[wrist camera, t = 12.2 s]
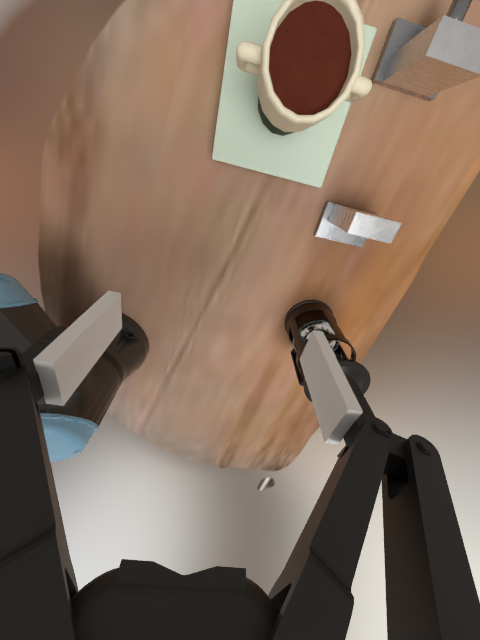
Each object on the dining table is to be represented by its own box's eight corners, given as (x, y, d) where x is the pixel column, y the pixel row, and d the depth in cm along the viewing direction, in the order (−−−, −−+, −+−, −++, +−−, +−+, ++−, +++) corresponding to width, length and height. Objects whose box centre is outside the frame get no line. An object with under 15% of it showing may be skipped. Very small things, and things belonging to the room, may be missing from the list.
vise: (313, 234, 39) (331, 250, 32) (399, 5, 26) (463, -61, 19) (359, 245, 40) (387, 263, 32) (463, 29, 27) (549, -25, 20)
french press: (302, 289, 44) (351, 384, 25) (344, 308, 46) (420, 409, 27) (271, 336, 50) (291, 444, 30) (310, 351, 52) (352, 461, 33)
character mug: (342, 72, 26) (415, 4, 15) (318, 151, 30) (362, 140, 19) (244, 43, 25) (247, -55, 14) (231, 128, 29) (225, 103, 18)
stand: (214, 160, 34) (211, 159, 31) (236, 3, 26) (236, -22, 23) (313, 186, 36) (320, 188, 32) (360, 45, 28) (376, 28, 25)
